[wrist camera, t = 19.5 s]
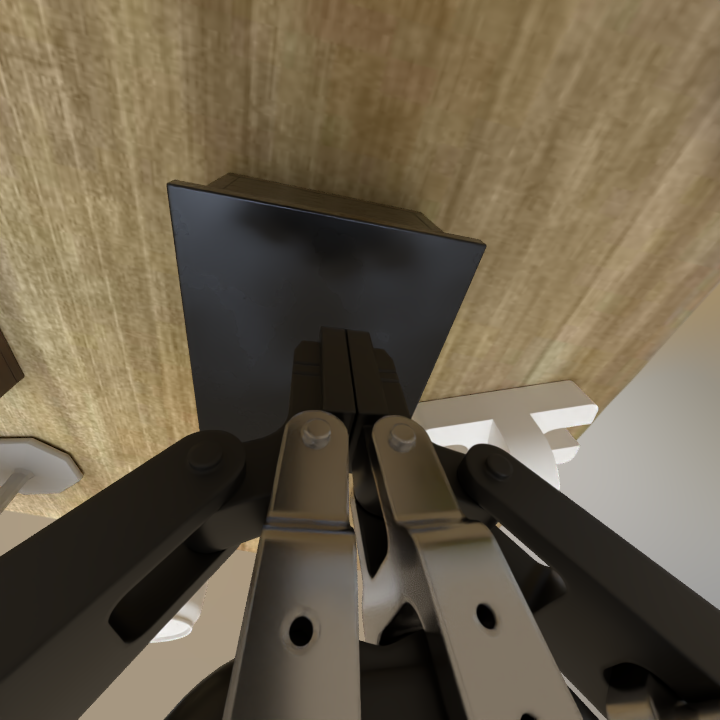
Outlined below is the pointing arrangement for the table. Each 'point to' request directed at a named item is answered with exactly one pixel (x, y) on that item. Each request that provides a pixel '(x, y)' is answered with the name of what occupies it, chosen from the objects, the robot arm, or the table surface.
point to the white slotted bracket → (513, 423)
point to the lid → (303, 296)
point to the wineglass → (33, 469)
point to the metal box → (322, 200)
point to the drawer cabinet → (8, 368)
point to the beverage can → (183, 618)
